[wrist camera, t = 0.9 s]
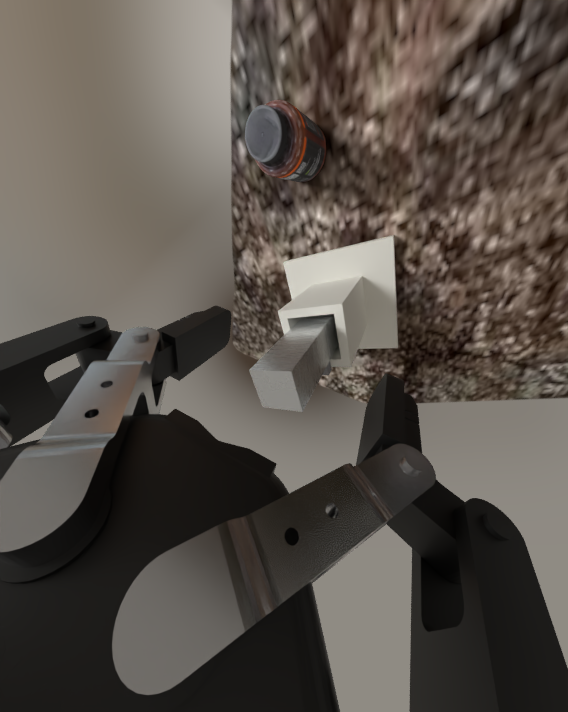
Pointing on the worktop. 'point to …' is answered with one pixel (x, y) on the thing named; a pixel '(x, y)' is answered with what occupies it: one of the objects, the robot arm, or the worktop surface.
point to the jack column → (296, 363)
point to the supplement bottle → (285, 142)
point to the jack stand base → (347, 296)
